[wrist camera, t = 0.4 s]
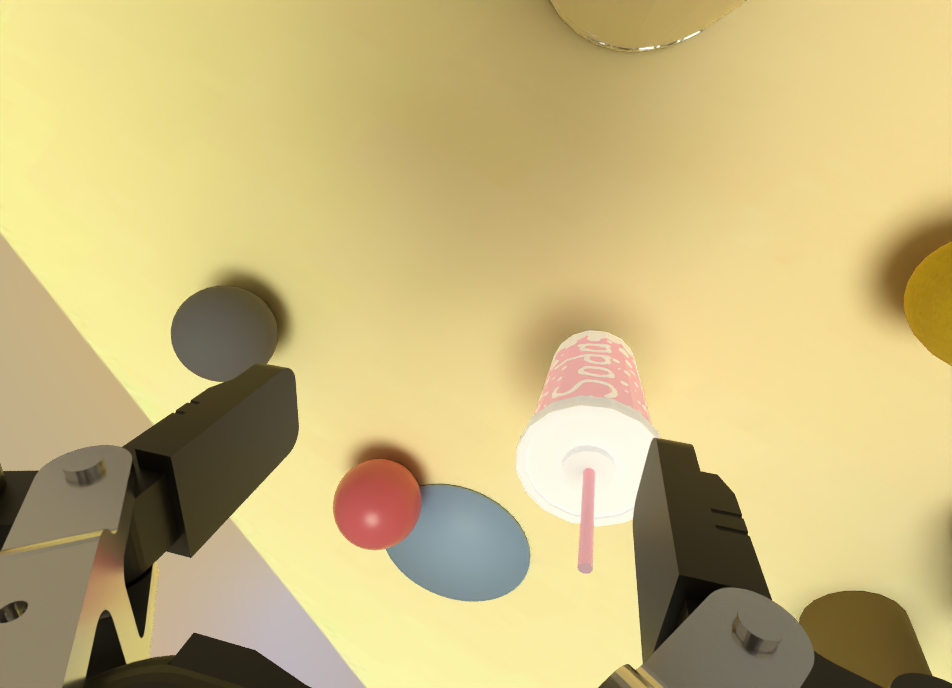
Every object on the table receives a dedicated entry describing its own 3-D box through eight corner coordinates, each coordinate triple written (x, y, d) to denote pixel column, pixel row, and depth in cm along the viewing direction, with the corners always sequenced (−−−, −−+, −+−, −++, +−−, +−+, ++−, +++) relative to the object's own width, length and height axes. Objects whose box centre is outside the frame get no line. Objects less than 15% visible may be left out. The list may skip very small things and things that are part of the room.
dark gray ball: (205, 271, 32) (132, 303, 27) (286, 274, 31) (225, 308, 26) (226, 352, 34) (163, 395, 30) (303, 358, 33) (250, 404, 28)
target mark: (374, 475, 36) (372, 477, 36) (530, 495, 34) (530, 497, 34) (390, 586, 41) (390, 588, 41) (529, 610, 39) (529, 612, 38)
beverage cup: (667, 334, 27) (718, 530, 15) (630, 426, 30) (647, 655, 18) (554, 304, 28) (514, 469, 16) (528, 397, 31) (476, 598, 19)
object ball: (350, 437, 35) (309, 493, 30) (429, 446, 34) (399, 505, 29) (361, 501, 38) (324, 562, 33) (435, 511, 36) (408, 576, 32)
